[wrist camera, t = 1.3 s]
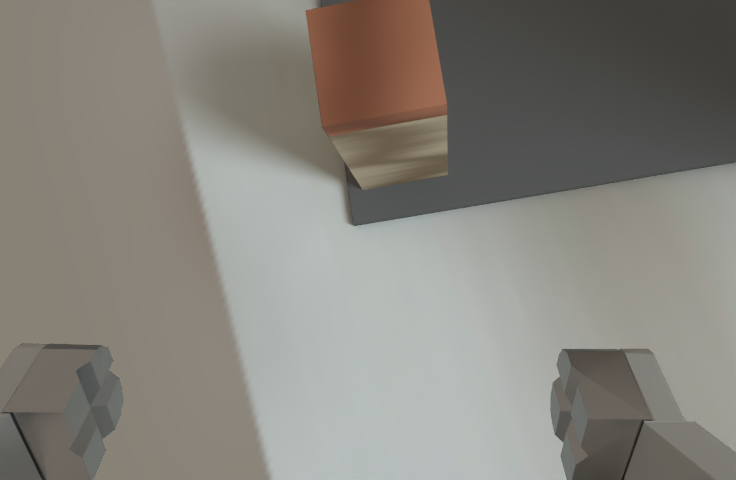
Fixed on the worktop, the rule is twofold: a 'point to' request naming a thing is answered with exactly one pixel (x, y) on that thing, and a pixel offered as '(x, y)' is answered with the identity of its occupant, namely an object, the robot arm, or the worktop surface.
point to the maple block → (381, 89)
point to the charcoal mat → (570, 98)
